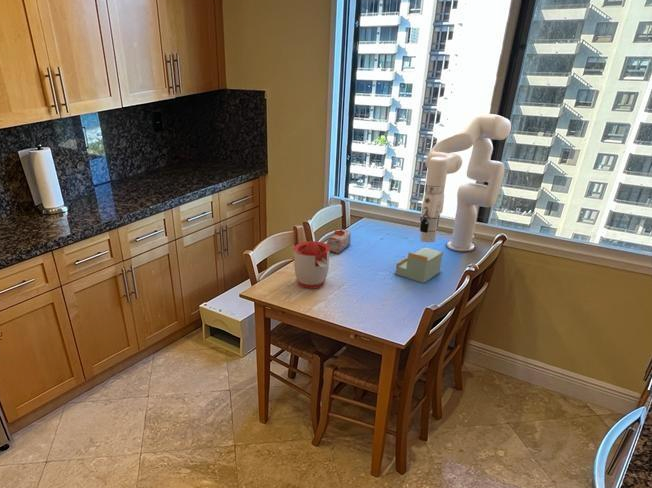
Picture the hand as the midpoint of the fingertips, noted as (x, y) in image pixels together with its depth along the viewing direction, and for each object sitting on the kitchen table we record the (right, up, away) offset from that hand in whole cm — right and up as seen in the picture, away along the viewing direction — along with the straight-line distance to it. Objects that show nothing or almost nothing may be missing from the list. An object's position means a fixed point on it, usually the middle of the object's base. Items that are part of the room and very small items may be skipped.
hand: (428, 228), depth 220 cm
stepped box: (-1, -18, +13) cm, 22 cm away
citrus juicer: (-49, -23, +9) cm, 55 cm away
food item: (-32, -2, +41) cm, 51 cm away
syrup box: (0, -4, +3) cm, 5 cm away
